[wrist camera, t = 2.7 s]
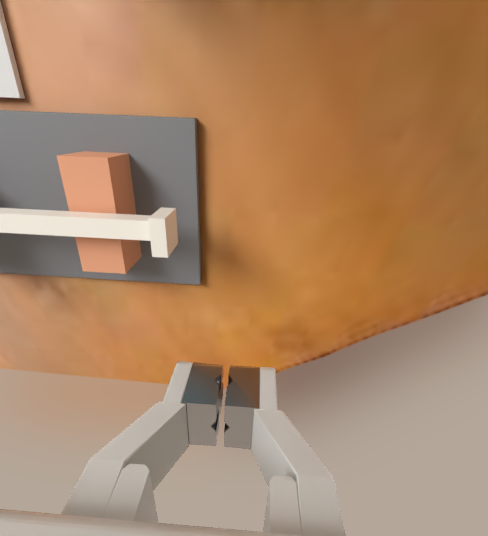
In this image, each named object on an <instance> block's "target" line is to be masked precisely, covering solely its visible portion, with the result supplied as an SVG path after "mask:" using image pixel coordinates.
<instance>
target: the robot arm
mask: <svg viewBox="0 0 488 536" xmlns="http://www.w3.org/2000/svg"><path fill="white" fill-rule="evenodd" d="M222 380H223V365H218V364H207V363H196V362H194V363H193V362H182V361H179V362H178V363H177V364H176V367H175V369H174V372H173V375H172V378H171V381H170V383H169V386H168V389H167V392H166V394H165V397H164V400H163V402H157V403H156V404H155V405H154V406H153V407H151V408H150V409H149V410H148V411H146V412H145V413H144V414H143V415H142V416H141V417H139V418H138V419H137V420H136V421H135V422H133V423H132V424H131V425H130V426H128V427H127V428H126V429H125V430H124V431H122V432H121V433H120V434H119V435H118V436H116V437H115V438H114V439H113V440H112V441H111V442H109V443H108V444H107V445H106V446H104V447H103V448H102V449H101V450H100V451H98V452H97V453H96V454H95V455H94V456H92V457H91V458H90V459H89V461H88V463H87V465H86V467H85V469H84V471H83V473H82V475H81V477H80V479H79V480H78V482H77V484H76V486H75V488H74V490H73V492H72V494H71V496H70V498H69V500H68V502H67V504H66V506H65V507H64V509H63V511H62V513H61V514H51V513H39V512H27V511H16V510H5V509H0V536H345V531H344V526H343V521H342V516H341V511H340V506H339V502H338V496H337V491H336V486H335V481H334V478H333V477H332V476H331V474H330V473H329V472H328V470H327V469H326V468H325V466H324V465H323V464H322V462H321V461H320V460H319V458H318V457H317V456H316V455H315V453H314V452H313V450H312V449H311V448H310V446H309V445H308V444H307V442H306V441H305V440H304V438H303V437H302V436H301V434H300V433H299V432H298V430H297V429H296V428H295V426H294V425H293V424H292V422H291V421H290V420H289V418H288V417H287V416H286V415H285V413H284V412H283V411H279V410H278V399H277V382H276V370H275V368H269V367H260V368H259V367H251V366H234V365H230V369H229V381H228V386H227V392H226V400H225V416H224V422H225V431H224V446H225V447H235V448H243V449H251V451H252V453H253V456H254V457H255V459H256V461H257V464H258V466H259V468H260V470H261V472H262V473H263V476H264V478H265V480H266V482H267V484H268V486H269V491H268V498H267V505H266V512H265V520H264V527H263V532H257V531H246V530H235V529H223V528H212V527H200V526H188V525H177V524H166V523H158V518H157V512H156V506H155V501H154V494H153V490H154V489H155V488H156V487H157V486H158V484H159V483H160V482H161V481H162V479H163V478H164V477H165V475H166V474H167V473H168V472H169V471H170V469H171V468H172V467H173V466H174V464H175V463H176V462H177V461H178V459H179V458H180V457H181V455H182V454H183V453H184V452H185V450H186V449H187V448H188V447H189V444H191V445H211V446H216V443H217V436H218V429H219V414H220V413H221V407H222V399H223V382H222Z"/></svg>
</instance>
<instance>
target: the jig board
mask: <svg viewBox="0 0 488 536" xmlns="http://www.w3.org/2000/svg"><path fill="white" fill-rule="evenodd" d="M83 151H88V152H111V153H129V160H130V168H131V176H132V183H133V191H134V199H135V207H136V215H152V214H154V213H155V212H156V211H157V210H158V209H160V208H161V207H164V208H176V218H177V233H178V244H177V246H176V247H175V248H174V250H173V251H172V253H171V254H170V256H169V257H168V258H164V257H152V251H151V241H144V240H140V246H141V254H142V257H141V258H140V259H139V260H138V261H137V262H136V263H135V264H134V265H133V266H132V267H131V269H130V270H129V271H128V272H127V273H126V274H120V273H103V272H87V271H83V269H82V265H81V261H80V256H79V252H78V247H77V243H76V239H75V237H72V236H54V235H35V234H17V233H0V273H10V274H27V275H44V276H60V277H77V278H94V279H110V280H127V281H144V282H161V283H177V284H194V285H200V283H201V281H202V275H201V242H200V208H199V175H198V142H197V118H177V117H153V116H128V115H104V114H80V113H55V112H31V111H7V110H0V208H17V209H36V210H55V211H69V208H68V204H67V199H66V195H65V191H64V186H63V182H62V178H61V173H60V169H59V164H58V160H57V155H64V154H70V153H77V152H83Z"/></svg>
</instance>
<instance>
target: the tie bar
mask: <svg viewBox="0 0 488 536" xmlns="http://www.w3.org/2000/svg"><path fill="white" fill-rule="evenodd" d="M0 233H17V234H35V235H54V236H72V237H90V238H108V239H126V240H144V241H151V251H152V257H164V258H168V257H169V256H170V254H171V253H172V251H173V250H174V248H175V247H176V246H177V244H178V233H177V218H176V208H164V207H161V208H160V209H158V210H157V211H156V212H155V213H154V214H152V215H132V214H113V213H93V212H74V211H55V210H36V209H17V208H0Z"/></svg>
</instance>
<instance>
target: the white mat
mask: <svg viewBox="0 0 488 536" xmlns="http://www.w3.org/2000/svg"><path fill="white" fill-rule="evenodd" d="M0 98H25V96H24V92H23V88H22V84H21V80H20V76H19V72H18V68H17V64H16V60H15V56H14V52H13V49H12V45H11V41H10V37H9V33H8V29H7V25H6V21H5V17H4V13H3V9H2V5H1V1H0Z"/></svg>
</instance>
